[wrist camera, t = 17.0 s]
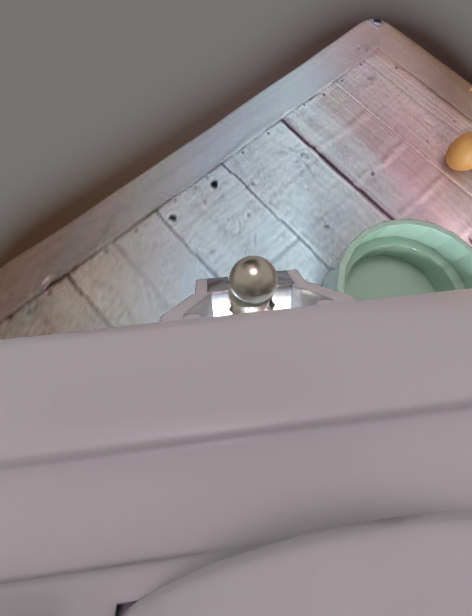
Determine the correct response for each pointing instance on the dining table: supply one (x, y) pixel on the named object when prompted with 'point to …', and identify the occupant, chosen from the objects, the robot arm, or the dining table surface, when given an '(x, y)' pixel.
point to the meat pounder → (252, 284)
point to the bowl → (401, 261)
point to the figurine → (460, 153)
